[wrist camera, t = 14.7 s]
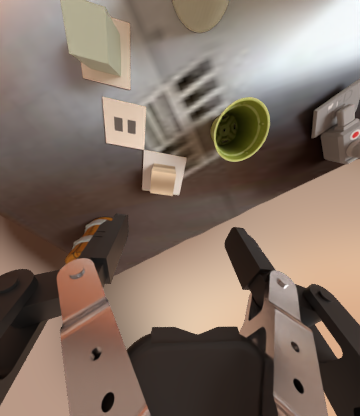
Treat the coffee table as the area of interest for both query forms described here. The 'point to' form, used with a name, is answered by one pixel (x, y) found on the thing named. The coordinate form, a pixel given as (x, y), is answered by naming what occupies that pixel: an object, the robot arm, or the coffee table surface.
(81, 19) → the sage block
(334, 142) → the camera
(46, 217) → the coffee table surface
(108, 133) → the code tile
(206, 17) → the can
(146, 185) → the felt pad
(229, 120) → the plant pot
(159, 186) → the beech block
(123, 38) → the code tile
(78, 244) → the mug
